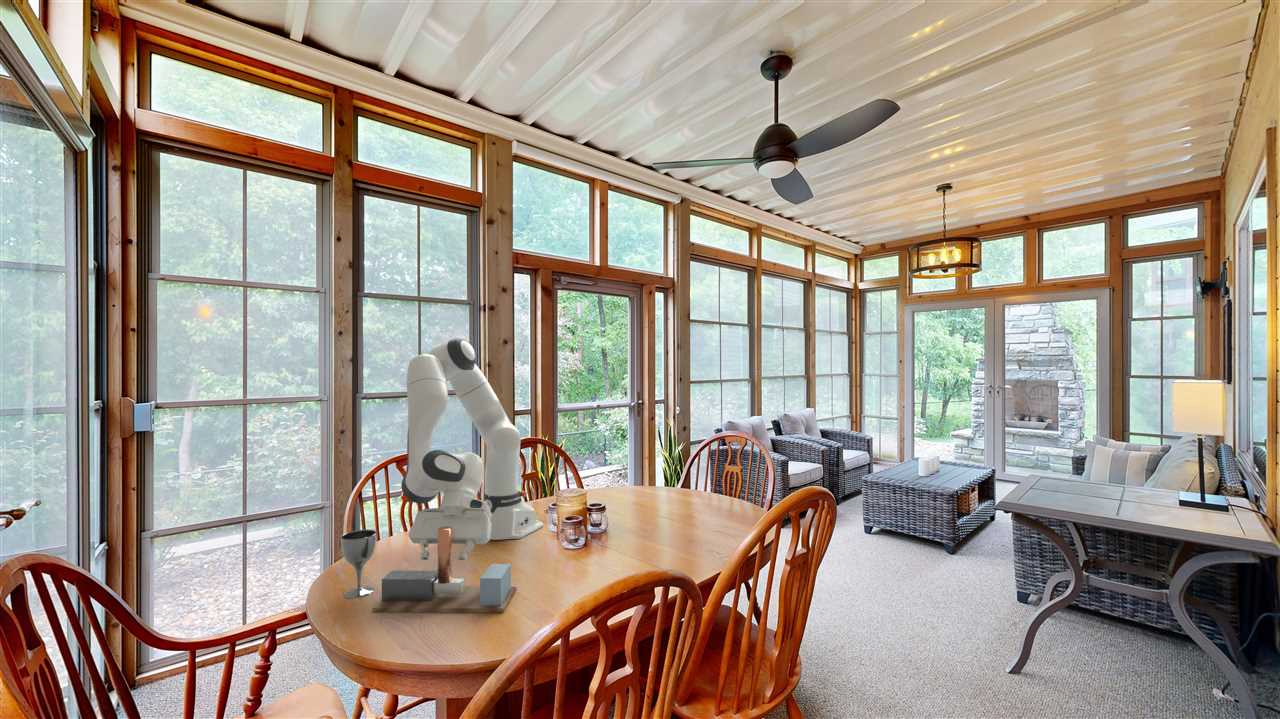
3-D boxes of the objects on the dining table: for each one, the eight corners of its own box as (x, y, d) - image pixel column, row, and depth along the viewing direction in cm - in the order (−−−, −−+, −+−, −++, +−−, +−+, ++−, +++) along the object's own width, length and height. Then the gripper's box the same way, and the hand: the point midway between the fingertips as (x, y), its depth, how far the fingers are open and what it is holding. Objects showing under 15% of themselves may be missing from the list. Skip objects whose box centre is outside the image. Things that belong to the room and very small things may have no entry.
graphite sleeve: (381, 601, 129) (381, 579, 129) (392, 591, 134) (392, 570, 134) (430, 601, 128) (430, 579, 128) (439, 591, 134) (439, 570, 134)
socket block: (480, 605, 126) (480, 578, 126) (491, 589, 135) (491, 563, 135) (500, 605, 126) (500, 578, 126) (510, 589, 135) (510, 563, 135)
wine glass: (334, 599, 132) (334, 539, 132) (352, 585, 140) (352, 529, 140) (366, 599, 132) (366, 539, 132) (381, 585, 140) (381, 529, 140)
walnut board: (372, 611, 125) (372, 607, 125) (396, 589, 137) (396, 586, 137) (503, 612, 125) (503, 608, 125) (516, 590, 137) (516, 586, 137)
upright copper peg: (387, 593, 130) (387, 530, 130) (394, 587, 133) (394, 526, 133) (460, 594, 129) (460, 530, 129) (464, 588, 133) (464, 526, 133)
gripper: (415, 502, 138) (397, 552, 129) (492, 502, 138) (480, 553, 128) (422, 514, 143) (405, 564, 133) (497, 514, 142) (485, 564, 133)
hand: (442, 559), depth 131 cm, fingers open, 8 cm apart
